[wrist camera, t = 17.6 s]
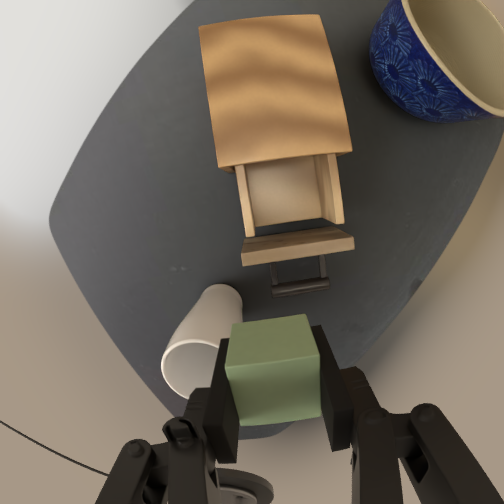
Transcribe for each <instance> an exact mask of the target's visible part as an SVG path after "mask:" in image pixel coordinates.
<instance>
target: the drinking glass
mask: <svg viewBox="0 0 504 504" xmlns="http://www.w3.org/2000/svg"><path fill="white" fill-rule="evenodd" d="M242 307H243V304H242V299H241V296H240V295H239V293H238V292H237V291H236V290H235V289H234V288H232V287H231V286H229V285H225V284H215V285H212V286H210V287H208V288H207V289H205V290H204V292H203V293H202V294H201V296H200V298H199V300H198V301H197V302H196V304H195V305H194V306H193V308H192V309H191V310H190V312H189V313H188V314H187V315H186V317H185V318H184V319H183V321H182V322H181V323H180V325H179V326H178V327H177V329H176V330H175V332H174V334H173V336H172V337H171V339H170V341H169V343H168V345H167V348H166V350H165V353H164V355H163V357H162V361H161V370H162V374H163V377H164V379H165V381H166V382H167V384H168V385H169V386H170V387H171V388H172V389H173V390H174V391H175V392H176V393H178V394H179V395H181V396H182V397H184V398H186V399H189V396H190V394H191V393H192V392H193V391H194V389H195V388H203V387H210V385H211V381H212V376H213V372H214V367H215V363H216V358H217V354H218V349H219V345H220V340H221V339H222V338H230V333H231V327H232V324H234V323H243V316H242Z"/></svg>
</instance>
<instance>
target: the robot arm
mask: <svg viewBox="0 0 504 504" xmlns="http://www.w3.org/2000/svg"><path fill="white" fill-rule="evenodd" d="M310 328H311V331H312V334H313V337H314V339H315V342H316V345H317V348H318V351H319V354H320V376H321V410H322V413H323V417H324V421H325V425H326V429H327V433H328V438H329V441H330V445H331V449H332V452H334V451H339V450H343V449H347V448H350V442H351V445H352V448H353V452H352V459H351V464H352V504H403V495H402V486H401V478H400V470H399V463H398V458H400V460H401V462H402V464H403V466H404V468H405V471H406V472H407V475H408V476H409V479H410V481H411V483H412V485H413V487H414V489H415V491H416V493H417V495H418V497H419V500H420V502H421V504H504V501H503V500H502V498H501V496H500V495H499V493H498V492H497V490H496V488H495V487H494V486H493V484H492V482H491V481H490V479H489V478H488V476H487V475H486V473H485V472H484V470H483V469H482V467H481V466H480V464H479V463H478V461H477V460H476V459H475V457H474V456H473V454H472V453H471V451H470V450H469V449H468V447H467V446H466V444H465V443H464V442H463V440H462V439H461V437H460V436H459V435H458V433H457V432H456V431H455V429H454V428H453V426H452V425H451V424H450V422H449V421H448V420H447V418H446V417H445V416H444V414H443V413H442V412H441V410H440V409H439V408H438V407H437V406H435V405H433V404H428V403H423V404H419V405H417V406H416V407H414V408H413V409H412V411H411V413H407V414H392V413H389V412H388V411H387V410H385V409H384V408H381V407H380V405H379V403H378V401H377V399H376V397H375V395H374V393H373V391H372V389H371V387H370V386H369V383H368V381H367V380H366V377H365V375H364V373H363V372H362V371H361V370H360V369H358V368H357V367H356V366H355V367H350V368H346V369H341V370H339V367H338V365H337V362H336V360H335V358H334V355H333V353H332V350H331V348H330V346H329V343H328V341H327V338H326V336H325V334H324V331H323V329H322V327H321V325H318V326H312V327H310ZM229 339H230V338H222V339H221V340H220V345H219V349H218V354H217V358H216V363H215V367H214V372H213V376H212V381H211V385H210V387H203V388H195V389H194V391H193V392H192V393H191V394H190V396H189V399H188V404H187V406H186V410H185V413H184V416H183V417H175V418H172V419H171V420H169V421H167V422H166V423H165V425H164V426H163V429H162V430H163V432H164V434H165V436H166V438H167V440H168V442H165V443H161V444H156V445H150V444H149V443H148V442H147V441H145V440H142V439H134V440H131V441H129V442H128V443H126V444H125V445H124V446H123V448H122V450H121V452H120V454H119V456H118V458H117V460H116V462H115V464H114V466H113V468H112V470H111V472H110V474H106V473H103V472H101V471H98V470H95V469H93V468H91V467H88V466H86V465H84V464H81V463H79V462H77V461H75V460H72V459H70V458H68V457H66V456H64V455H62V454H60V453H58V452H56V451H54V450H52V449H50V448H48V447H46V446H44V445H42V444H40V443H38V442H37V441H35V440H33V439H31V438H29V437H28V436H26V435H24V434H22V433H21V432H19V431H17V430H15V429H14V428H12V427H10V426H9V425H7V424H5V423H3V422H2V421H0V423H2V424H3V425H5V426H7V427H8V428H10V429H12V430H13V431H15V432H17V433H18V434H20V435H22V436H24V437H25V438H27V439H29V440H31V441H33V442H34V443H36V444H38V445H40V446H42V447H43V448H45V449H47V450H49V451H51V452H53V453H55V454H57V455H59V456H61V457H63V458H65V459H67V460H69V461H72V462H74V463H76V464H78V465H80V466H83V467H85V468H88V469H90V470H92V471H95V472H97V473H100V474H102V475H105V476H108V478H107V480H106V482H105V484H104V486H103V488H102V490H101V492H100V494H99V496H98V498H97V500H96V503H95V504H167V502H168V504H257V496H256V494H255V493H253V492H252V491H250V490H248V489H246V488H243V487H239V486H235V485H229V484H219V480H218V473H217V470H216V467H215V461H216V459H217V461H218V463H219V464H221V463H222V464H228V463H236V461H237V460H236V459H237V447H238V434H239V420H240V419H239V416H238V412H237V409H236V405H235V402H234V398H233V395H232V391H231V387H230V384H229V380H228V378H227V374H226V370H225V363H226V357H227V351H228V345H229Z"/></svg>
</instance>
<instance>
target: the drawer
mask: <svg viewBox="0 0 504 504" xmlns="http://www.w3.org/2000/svg"><path fill="white" fill-rule="evenodd" d="M235 170H236V176H237V183H238V189H239V195H240V201H241V208H242V214H243V220H244V226H245V232H246V237H253V236H255V227H258V226H265V225H272V224H278V223H285V222H292V221H299V220H307V219H314V218H321V217H322V218H324V219H327V220H329V221H331V222H333V223H335V224H343V223H344V213H343V205H342V196H341V188H340V181H339V174H338V167H337V160H336V154H335V153H333V154H322V155H312V156H303V157H294V158H286V159H278V160H270V161H263V162H256V163H250V164H243V165H237V166H235ZM353 249H354V237H353V236H351V235H349V234H347V233H345V232H343V231H341V230H340V229H338V228H336V227H334V226H330V227H323V228H316V229H309V230H302V231H295V232H288V233H281V234H274V235H267V236H261V237H254V238H247V239H244V242H243V247H242V251H241V258H242V264H243V266H248V265H255V264H262V263H268V262H269V265H270V271H271V278H272V285H271V292H272V298H277V297H284V296H290V295H297V294H303V293H309V292H315V291H321V290H327V289H330V281H329V278H328V276H327V275H326V263H325V254H328V253H334V252H340V251H347V250H353ZM315 255H318V260H319V271H320V277H317V278H311V279H304V280H298V281H292V282H285V283H278V278H277V270H276V263H275V261H282V260H288V259H295V258H302V257H308V256H315Z"/></svg>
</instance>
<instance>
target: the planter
mask: <svg viewBox="0 0 504 504" xmlns="http://www.w3.org/2000/svg"><path fill="white" fill-rule="evenodd" d="M369 58H370V63H371V67H372V70H373V73H374V75H375V77H376V80H377V81H378V83H379V85H380V86H381V88H382V89H383V91H384V92H385V93H386V94H387V96H388V97H389V98H390V99H391V100H392V101H393V102H394V103H395V104H396V105H398V106H399V107H400V108H401V109H403V110H404V111H406V112H407V113H409V114H411V115H413V116H415V117H417V118H420V119H423V120H426V121H430V122H435V123H454V122H462V121H470V120H479V119H489V118H501V117H504V28H503V26H502V25H501V23H500V22H499V21H498V19H497V18H496V17H495V16H494V14H493V13H492V12H491V11H490V10H489V9H488V8H487V7H486V5H485V4H484V3H483V2H481V1H480V0H390V1H389V3H388V4H387V6H386V8H385V9H384V11H383V13H382V14H381V16H380V18H379V19H378V21H377V23H376V24H375V26H374V28H373V31H372V34H371V37H370V42H369Z"/></svg>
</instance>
